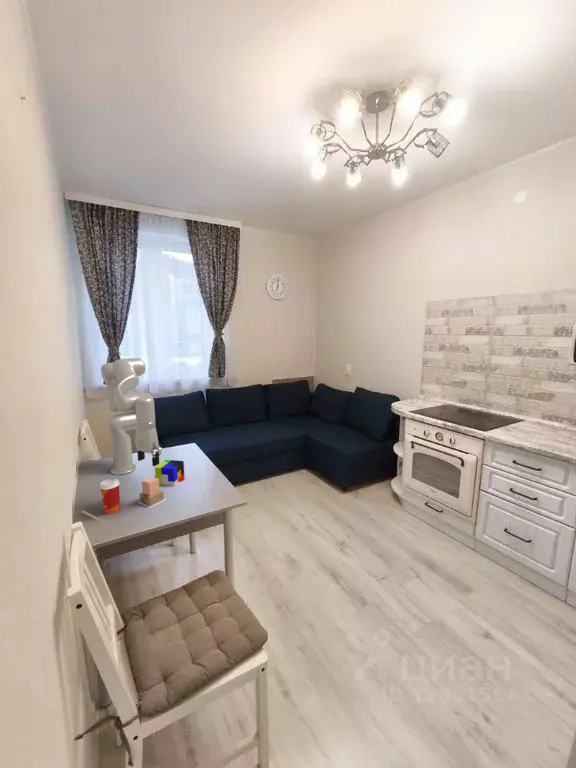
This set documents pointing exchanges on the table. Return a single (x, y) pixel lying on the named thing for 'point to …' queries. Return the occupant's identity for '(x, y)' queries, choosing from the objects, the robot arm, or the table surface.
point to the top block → (150, 486)
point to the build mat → (151, 506)
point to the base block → (151, 498)
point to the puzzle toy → (170, 472)
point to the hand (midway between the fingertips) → (148, 462)
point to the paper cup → (110, 495)
